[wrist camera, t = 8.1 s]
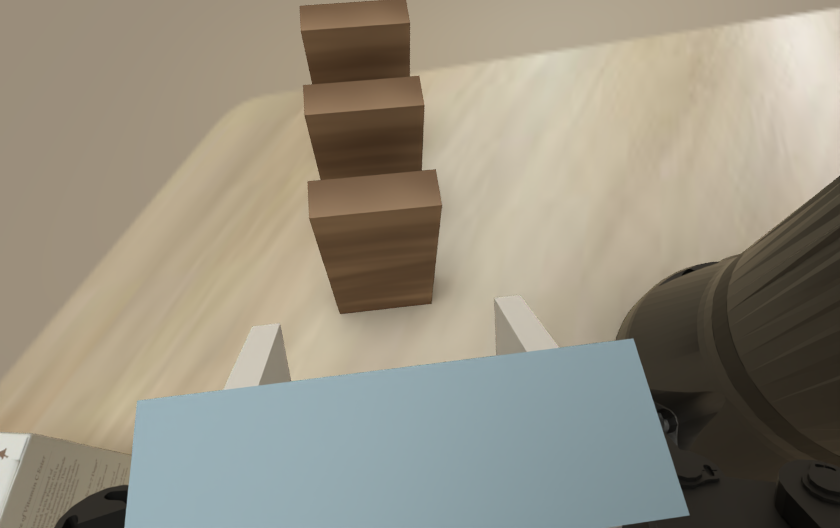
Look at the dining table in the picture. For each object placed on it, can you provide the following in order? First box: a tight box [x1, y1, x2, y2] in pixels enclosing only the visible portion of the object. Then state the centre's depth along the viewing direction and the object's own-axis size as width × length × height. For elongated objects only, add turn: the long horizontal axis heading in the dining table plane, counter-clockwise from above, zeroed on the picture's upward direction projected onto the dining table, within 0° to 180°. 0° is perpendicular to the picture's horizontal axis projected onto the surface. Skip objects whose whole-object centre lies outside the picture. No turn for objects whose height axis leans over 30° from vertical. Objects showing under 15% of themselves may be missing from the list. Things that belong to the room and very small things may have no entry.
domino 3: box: [308, 169, 442, 314], centre depth 30 cm, size 2×6×12 cm, turn 97°
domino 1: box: [300, 0, 410, 84], centre depth 35 cm, size 2×6×12 cm, turn 98°
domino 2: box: [303, 76, 424, 180], centre depth 32 cm, size 2×6×12 cm, turn 97°
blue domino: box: [124, 339, 690, 528], centre depth 11 cm, size 2×6×12 cm, turn 97°
